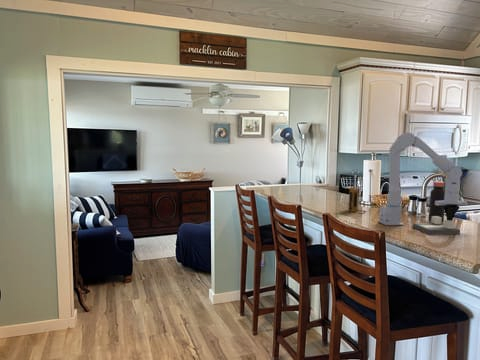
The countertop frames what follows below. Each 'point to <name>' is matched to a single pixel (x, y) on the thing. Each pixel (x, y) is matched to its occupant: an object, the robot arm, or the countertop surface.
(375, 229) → the countertop surface
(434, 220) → the tab back
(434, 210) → the bottle
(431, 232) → the switch panel
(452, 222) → the tab front
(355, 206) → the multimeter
